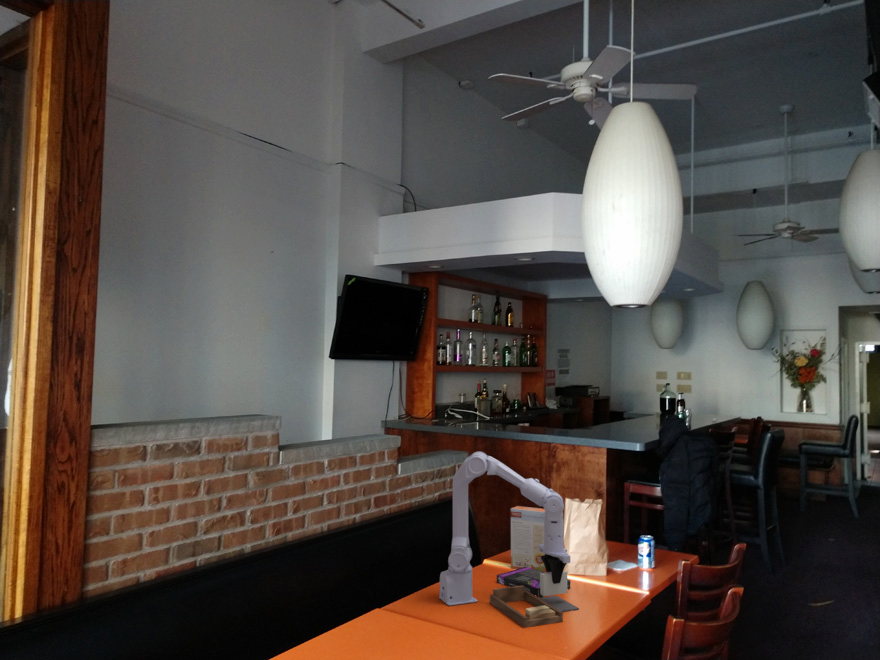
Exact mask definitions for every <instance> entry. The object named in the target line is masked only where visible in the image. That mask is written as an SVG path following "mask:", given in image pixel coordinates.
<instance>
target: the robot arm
mask: <svg viewBox="0 0 880 660" xmlns="http://www.w3.org/2000/svg"><path fill="white" fill-rule="evenodd" d="M486 472H487V473H486ZM484 474H486V476H494V475H495V476H499V477H500V478H501V479H503V480H505V481H507V482H508V483H510V484H512V485H514V486H516V488H519V490H520V493H521V495H522V496H524V497H525V498H526V499H528V500H529V501H530V502H533V503H535V504H536V505H537V506H539V507H543V509H544V510H545V518H544V544H540V545H539V551H540V552H544V553H545V555H544V556H541V559H542V561H543V563H544V566H545V569H546V572H552V581H553V583H554V584H557V583H560V581H561V577H562V573H563V570H564V571H565V568H566V566H567V564H570V563H571V555H569V554H568V553H567V552H568V549H567V548H565V545H564V543H565V537H564V536H565V533H564V531H565V529H564V527H565V522H564V520H565V519H564V508H565V505H564V499H563V496H561V494H559V492H557V491H554V489H552V488H548V487H547V486H545V485H543V484H542V483H540V480H539V479H537V478H532V477H530V478H524V477H523V476H521V475H520V474H519V473H517V472H516V471H514V470H513V469H511V468H510V467H509V466H507V465H506V464H505V463H503V462H501V461H500V460H498V459H496V458H494V457H493V456H490V455H487V454H486V453H485V452H484V451H475V452H473V453H471V454H470V455H469V456H468V457H467V458H465V460H463V462H462V463H461V465H460V467H459V468H458V470H457V471H456V472H455V474H454V475H453V477H452V539H451V548H450V549H451V550H450V554H449V556H448V560H447V563H448V567H447V568H448V569H447V570H444V571H441V572H440V575H439V596H438V598H439V599H440V600H441V601H442V602H443V603H445V604H446V605H447V606H457V605H464V604H472V603H477V602H478V599H476V598H475V597H473V566H472V565H471V563H470V562H471V560H472V558H473V551H472V550H473V549H472V548H471V546H470V537H469V484H470V483H471V482H472V481H473V480H474V479H476V478H478V477H481V476H482V475H484Z"/></svg>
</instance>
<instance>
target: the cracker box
mask: <svg viewBox="0 0 880 660" xmlns="http://www.w3.org/2000/svg"><path fill="white" fill-rule="evenodd" d="M544 518H545V510H544V508H542V507H541V508H540V507H529V506H523V505H522V506H520V505H516V506H515V507H514V506H513V507H511V508H510V568H511V569H514V570H516V569H519V568H523V567H525V566H526V567H529V568H532V569H536V570H539V571H542V572H546V569H545V566H544V563H543V561H542V559H541V556H544V555H545V553H544V552H540V551H539V545H540V544H544Z"/></svg>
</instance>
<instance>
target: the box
mask: <svg viewBox="0 0 880 660" xmlns="http://www.w3.org/2000/svg"><path fill="white" fill-rule="evenodd" d="M540 573H546V572H542V571H539V570H536V569H532V568H529V567H526V566H525V567H523V568H519V569H514V570H510V571H507V572H504V573H499V574H497V575H496V584H499V585H502V584H503V586H505V585H506V587H508V586H510V587H514V586H522V585H523V586H525V590H527V591H528V592H530V593H532V594H533V595H536V596H537V597H538V596H539V597H538V598H541V597H545V596H543V595H541V594H540ZM567 589H568V590H570V589H571V580H570V579H568V578H567Z"/></svg>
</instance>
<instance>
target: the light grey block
mask: <svg viewBox="0 0 880 660" xmlns="http://www.w3.org/2000/svg"><path fill="white" fill-rule="evenodd" d="M567 579H568V571H566V570H565V569H564V570H563V573H562V577H561V581H560V583H557V584H554V583H553V581H552V572H546V573H540V594H541V595H543V596H546V597H549V596H557V595H562V594H567V593H568V590H567Z"/></svg>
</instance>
